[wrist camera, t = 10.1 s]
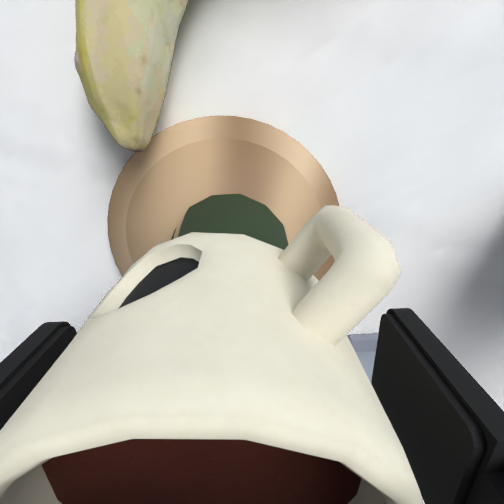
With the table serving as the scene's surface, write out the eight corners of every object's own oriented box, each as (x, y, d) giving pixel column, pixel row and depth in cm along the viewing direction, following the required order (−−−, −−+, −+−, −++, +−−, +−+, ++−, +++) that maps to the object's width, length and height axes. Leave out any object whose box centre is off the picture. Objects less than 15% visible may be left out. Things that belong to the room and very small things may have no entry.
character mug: (232, 118, 14) (163, 66, 2) (343, 204, 15) (681, 464, 4) (129, 284, 17) (-136, 652, 5) (230, 338, 19) (207, 704, 7)
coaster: (348, 109, 14) (353, 109, 14) (330, 324, 20) (333, 330, 19) (84, 122, 14) (76, 122, 14) (137, 334, 19) (134, 341, 19)
